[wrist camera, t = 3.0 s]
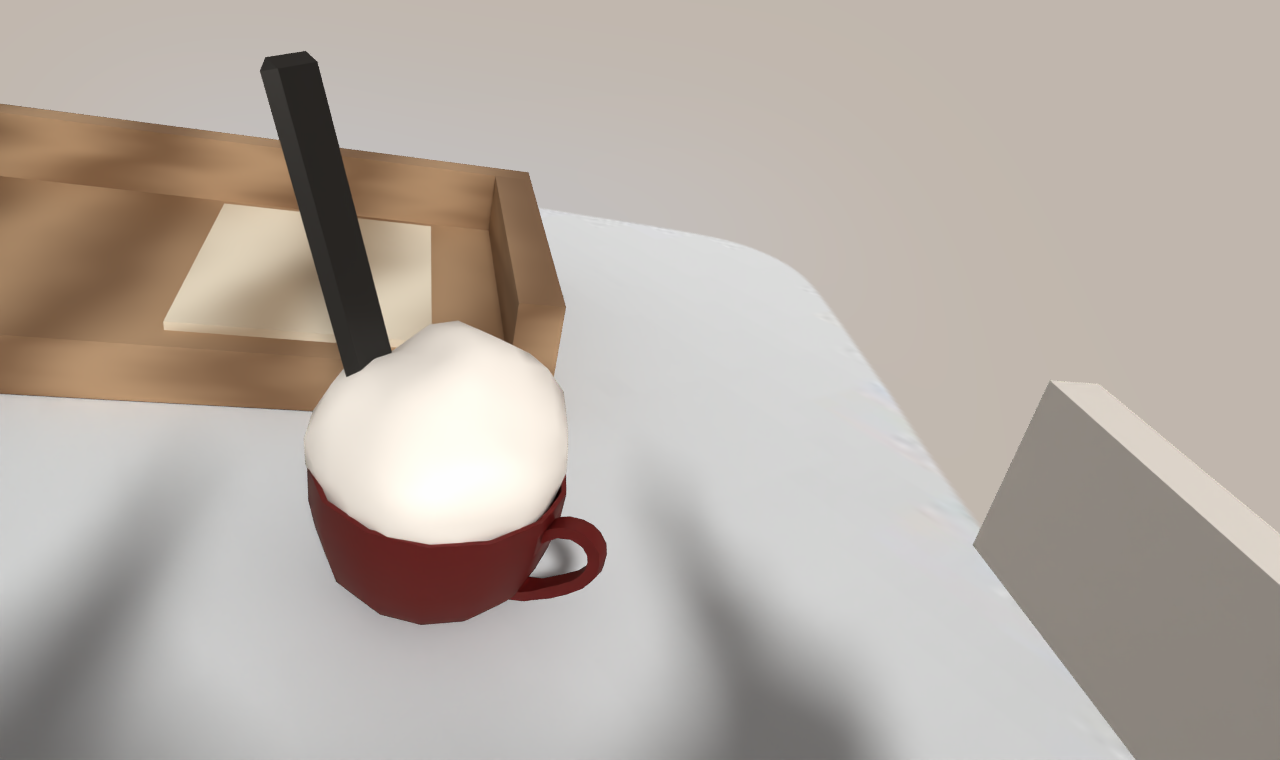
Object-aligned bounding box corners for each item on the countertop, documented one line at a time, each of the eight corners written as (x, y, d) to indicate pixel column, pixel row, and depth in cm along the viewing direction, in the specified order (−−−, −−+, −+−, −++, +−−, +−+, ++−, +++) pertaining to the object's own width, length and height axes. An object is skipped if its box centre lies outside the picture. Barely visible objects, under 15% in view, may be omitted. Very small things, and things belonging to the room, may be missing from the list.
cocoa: (614, 628, 24) (755, 210, 18) (413, 744, 20) (516, 240, 14) (412, 437, 29) (473, 58, 23) (215, 495, 25) (230, 45, 19)
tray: (-618, 358, 23) (-712, 190, 21) (-286, 184, 34) (-325, 61, 32) (545, 424, 31) (566, 307, 29) (515, 266, 42) (528, 172, 40)
